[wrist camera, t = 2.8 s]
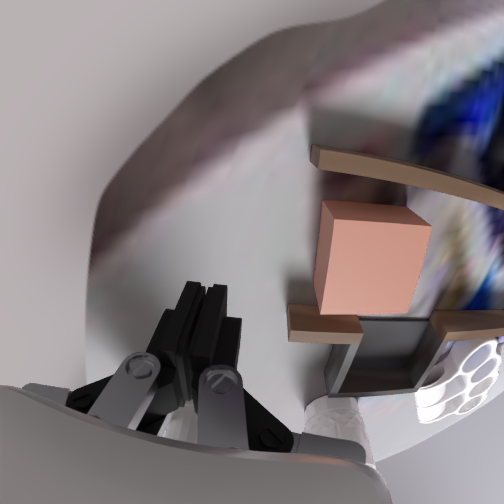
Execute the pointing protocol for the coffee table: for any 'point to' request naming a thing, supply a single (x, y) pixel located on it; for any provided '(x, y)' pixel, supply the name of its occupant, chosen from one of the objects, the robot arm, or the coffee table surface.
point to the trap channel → (385, 330)
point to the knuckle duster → (459, 379)
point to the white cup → (338, 422)
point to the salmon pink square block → (368, 257)
